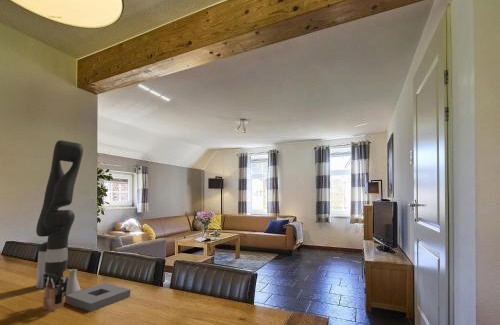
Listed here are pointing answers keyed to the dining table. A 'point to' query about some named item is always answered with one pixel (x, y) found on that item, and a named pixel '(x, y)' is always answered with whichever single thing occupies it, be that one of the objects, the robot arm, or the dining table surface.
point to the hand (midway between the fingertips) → (53, 301)
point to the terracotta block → (51, 299)
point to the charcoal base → (97, 296)
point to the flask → (72, 282)
